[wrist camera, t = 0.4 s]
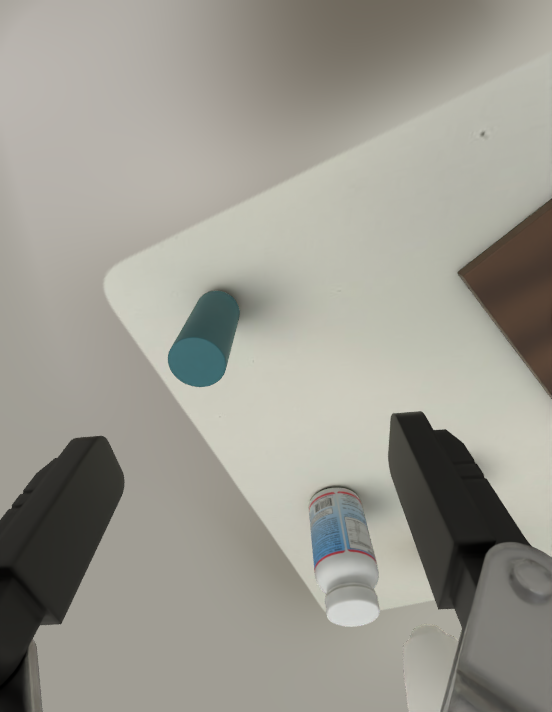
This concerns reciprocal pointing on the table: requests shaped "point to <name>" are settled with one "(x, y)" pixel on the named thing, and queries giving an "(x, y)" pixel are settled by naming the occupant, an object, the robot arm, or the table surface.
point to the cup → (427, 667)
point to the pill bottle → (343, 557)
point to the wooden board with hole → (520, 290)
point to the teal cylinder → (205, 340)
